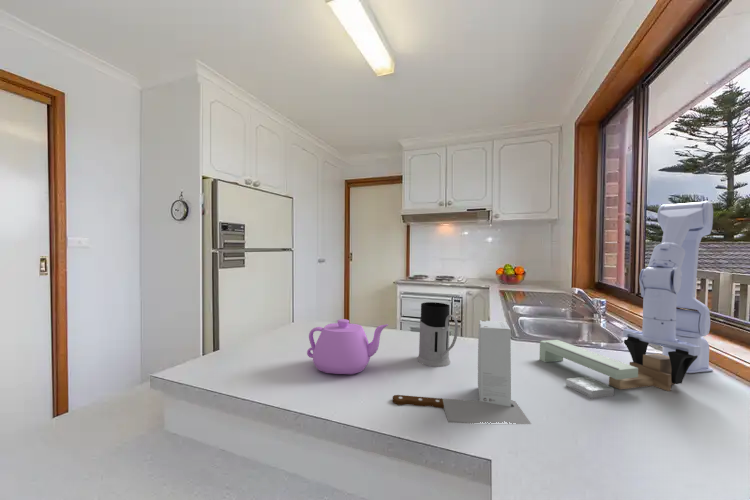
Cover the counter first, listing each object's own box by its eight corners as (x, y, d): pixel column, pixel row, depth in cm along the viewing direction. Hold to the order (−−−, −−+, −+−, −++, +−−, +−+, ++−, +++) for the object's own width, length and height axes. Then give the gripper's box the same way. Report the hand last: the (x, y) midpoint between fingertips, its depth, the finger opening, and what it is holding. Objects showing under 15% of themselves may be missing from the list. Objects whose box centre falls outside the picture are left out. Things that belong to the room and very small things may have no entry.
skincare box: (511, 409, 57) (513, 330, 57) (477, 403, 59) (479, 326, 59) (506, 390, 65) (508, 320, 65) (476, 385, 67) (478, 318, 67)
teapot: (297, 376, 69) (299, 324, 69) (314, 356, 83) (315, 312, 83) (385, 382, 68) (387, 329, 68) (388, 360, 81) (389, 316, 81)
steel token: (586, 385, 70) (587, 376, 70) (613, 397, 64) (613, 388, 64) (566, 387, 69) (566, 378, 69) (591, 400, 63) (591, 390, 63)
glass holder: (438, 353, 88) (440, 301, 88) (470, 372, 74) (472, 311, 74) (411, 356, 85) (413, 302, 85) (439, 377, 71) (441, 312, 71)
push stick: (647, 374, 77) (647, 350, 77) (687, 388, 69) (687, 362, 69) (597, 379, 72) (597, 354, 72) (633, 395, 65) (634, 367, 65)
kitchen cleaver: (391, 418, 52) (393, 388, 62) (390, 424, 52) (393, 393, 62) (539, 431, 50) (517, 399, 60) (539, 437, 50) (517, 404, 60)
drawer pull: (557, 358, 87) (557, 338, 87) (637, 392, 66) (638, 366, 66) (539, 359, 85) (540, 339, 85) (616, 394, 65) (617, 368, 65)
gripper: (614, 312, 78) (613, 365, 78) (684, 326, 64) (683, 391, 64) (635, 311, 80) (633, 363, 80) (708, 325, 66) (706, 388, 66)
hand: (657, 376), depth 72 cm, fingers open, 7 cm apart
